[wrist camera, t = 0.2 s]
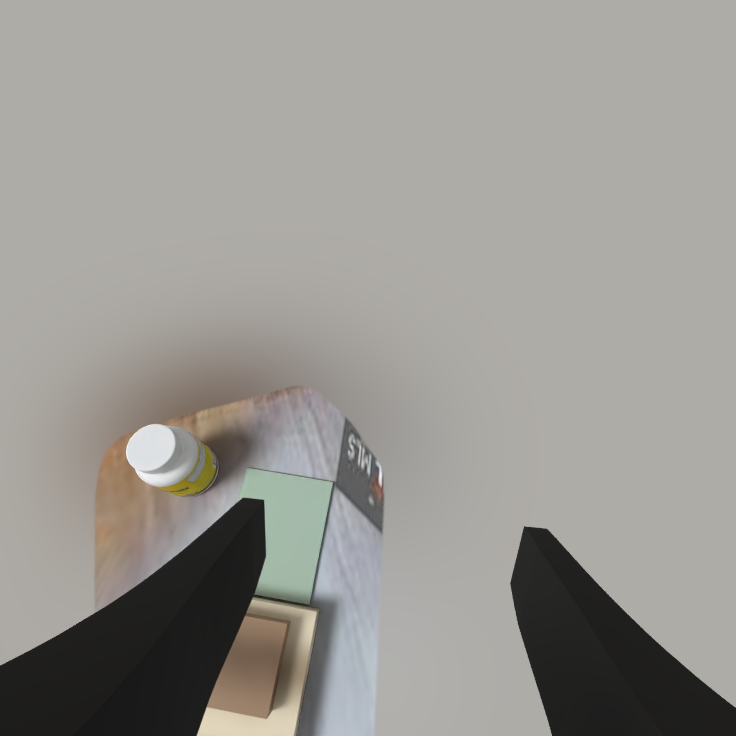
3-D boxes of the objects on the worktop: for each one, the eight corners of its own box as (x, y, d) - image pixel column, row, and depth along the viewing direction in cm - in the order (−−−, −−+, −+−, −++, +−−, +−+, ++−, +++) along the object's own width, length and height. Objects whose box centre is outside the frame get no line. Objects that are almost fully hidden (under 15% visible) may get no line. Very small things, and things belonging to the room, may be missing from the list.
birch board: (293, 750, 33) (287, 766, 30) (173, 726, 33) (157, 740, 31) (319, 608, 37) (316, 611, 35) (213, 589, 38) (202, 590, 35)
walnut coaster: (272, 710, 32) (266, 719, 30) (196, 695, 32) (187, 703, 30) (290, 621, 34) (287, 623, 33) (221, 607, 35) (213, 610, 33)
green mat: (309, 604, 38) (309, 604, 37) (214, 586, 38) (212, 586, 38) (333, 482, 42) (332, 482, 42) (248, 468, 43) (247, 467, 42)
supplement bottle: (156, 487, 42) (102, 464, 33) (184, 438, 44) (141, 406, 35) (203, 506, 41) (160, 489, 32) (229, 456, 43) (197, 427, 35)
